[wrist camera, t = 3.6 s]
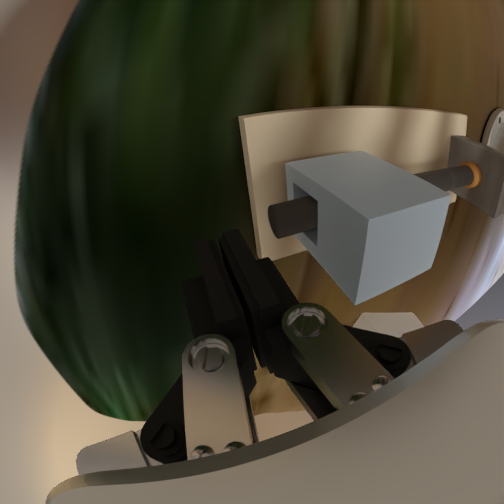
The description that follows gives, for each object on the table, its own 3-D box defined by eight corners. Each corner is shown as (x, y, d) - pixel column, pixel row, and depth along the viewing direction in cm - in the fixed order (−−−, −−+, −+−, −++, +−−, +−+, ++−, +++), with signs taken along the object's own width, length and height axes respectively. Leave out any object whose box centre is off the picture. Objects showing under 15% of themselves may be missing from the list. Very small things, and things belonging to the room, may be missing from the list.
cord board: (458, 113, 17) (520, 137, 11) (448, 197, 22) (499, 231, 17) (238, 116, 13) (303, 138, 7) (257, 255, 18) (305, 333, 13)
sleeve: (361, 150, 14) (451, 194, 9) (358, 210, 16) (431, 268, 11) (285, 162, 13) (368, 220, 8) (289, 229, 16) (354, 305, 10)
